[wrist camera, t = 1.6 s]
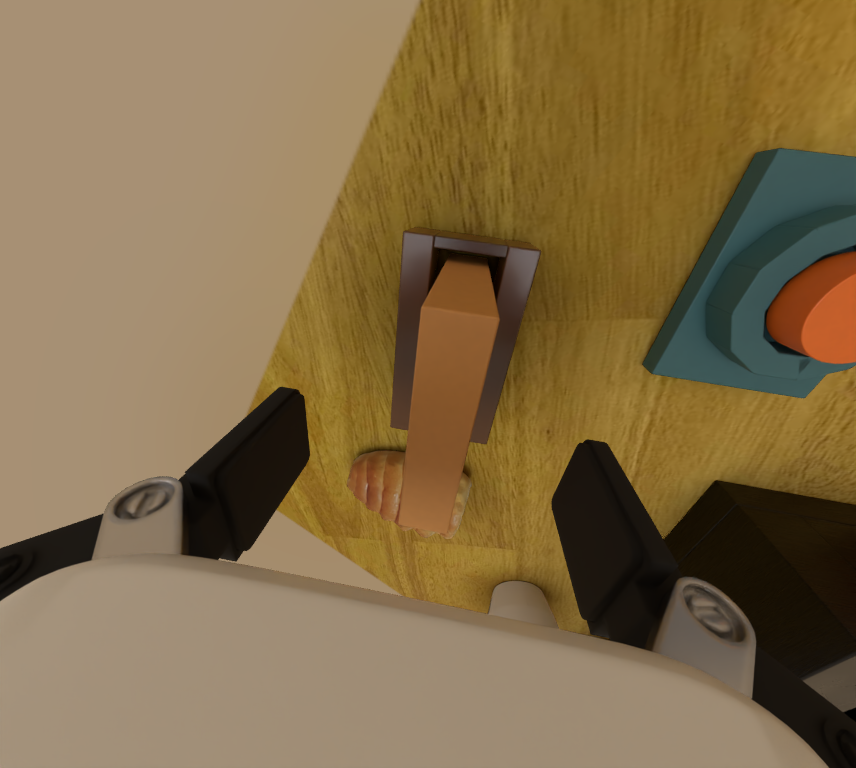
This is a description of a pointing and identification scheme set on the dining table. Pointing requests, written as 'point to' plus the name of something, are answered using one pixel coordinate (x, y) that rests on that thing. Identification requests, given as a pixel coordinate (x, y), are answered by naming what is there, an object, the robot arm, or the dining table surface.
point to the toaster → (782, 576)
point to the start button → (818, 311)
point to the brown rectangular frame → (414, 289)
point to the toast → (447, 389)
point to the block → (759, 275)
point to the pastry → (394, 488)
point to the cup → (521, 603)
